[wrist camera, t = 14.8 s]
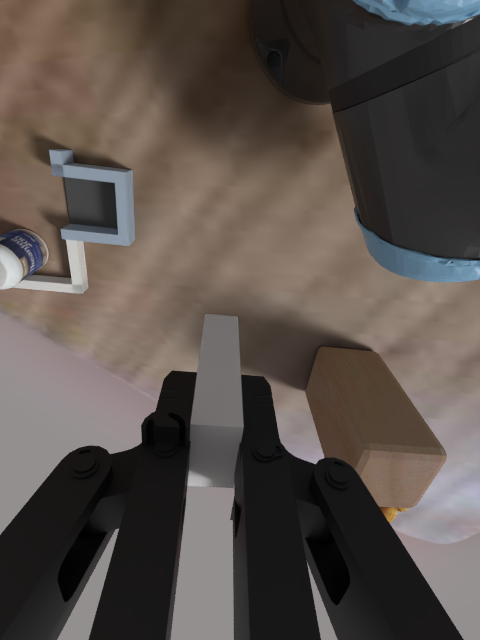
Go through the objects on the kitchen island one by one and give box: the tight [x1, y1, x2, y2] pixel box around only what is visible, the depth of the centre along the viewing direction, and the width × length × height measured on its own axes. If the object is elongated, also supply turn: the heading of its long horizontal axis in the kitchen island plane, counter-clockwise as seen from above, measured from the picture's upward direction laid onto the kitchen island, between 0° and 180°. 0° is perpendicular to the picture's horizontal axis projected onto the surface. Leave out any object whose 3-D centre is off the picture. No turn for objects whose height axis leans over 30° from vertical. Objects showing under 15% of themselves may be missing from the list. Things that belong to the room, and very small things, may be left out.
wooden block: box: [305, 346, 446, 508], centre depth 45 cm, size 10×10×20 cm
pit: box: [64, 177, 118, 229], centre depth 40 cm, size 6×7×1 cm
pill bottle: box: [0, 229, 49, 289], centre depth 38 cm, size 5×5×10 cm
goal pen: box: [13, 240, 88, 294], centre depth 42 cm, size 8×14×2 cm, turn 83°
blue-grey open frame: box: [49, 149, 135, 246], centre depth 38 cm, size 10×21×3 cm, turn 83°
